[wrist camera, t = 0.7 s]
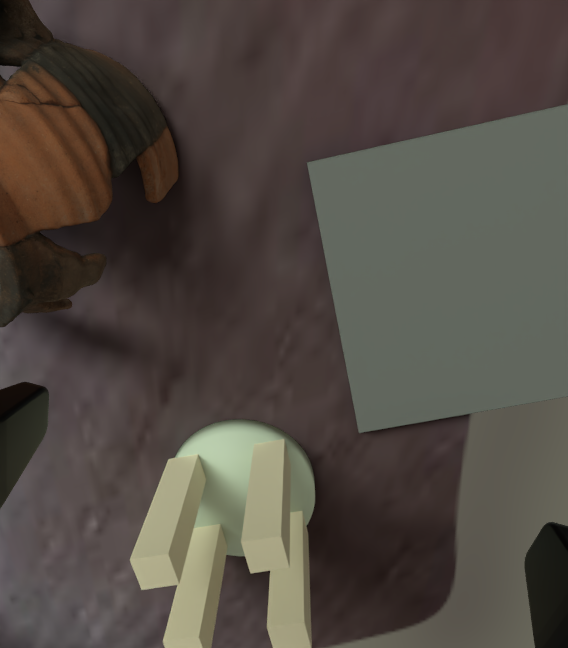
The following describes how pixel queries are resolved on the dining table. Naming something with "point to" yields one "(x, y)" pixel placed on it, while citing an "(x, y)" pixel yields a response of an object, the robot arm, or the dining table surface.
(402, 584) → the dining table surface
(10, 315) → the brown curved piece
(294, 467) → the stool
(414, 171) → the mat
